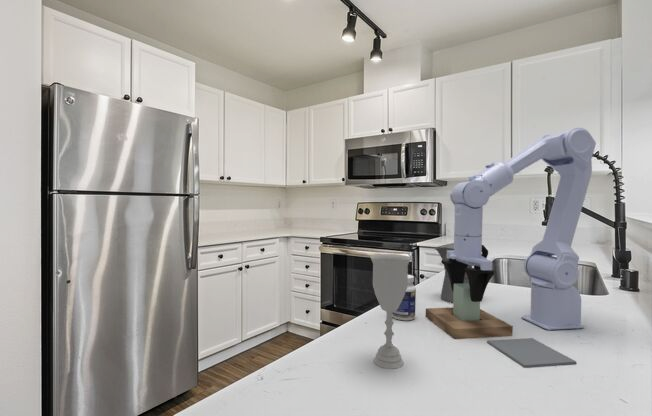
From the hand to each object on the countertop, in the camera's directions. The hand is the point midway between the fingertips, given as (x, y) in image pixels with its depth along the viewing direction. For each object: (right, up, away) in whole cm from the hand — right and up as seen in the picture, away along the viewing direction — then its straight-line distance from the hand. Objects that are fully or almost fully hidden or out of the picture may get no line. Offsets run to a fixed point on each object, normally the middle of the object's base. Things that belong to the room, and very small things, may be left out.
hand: (466, 296), depth 75 cm
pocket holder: (0, -7, 0) cm, 7 cm away
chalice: (-21, -7, -17) cm, 28 cm away
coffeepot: (+7, -7, +20) cm, 23 cm away
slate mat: (+6, -7, -13) cm, 16 cm away
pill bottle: (-13, -7, +5) cm, 15 cm away
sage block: (0, -7, 0) cm, 7 cm away
